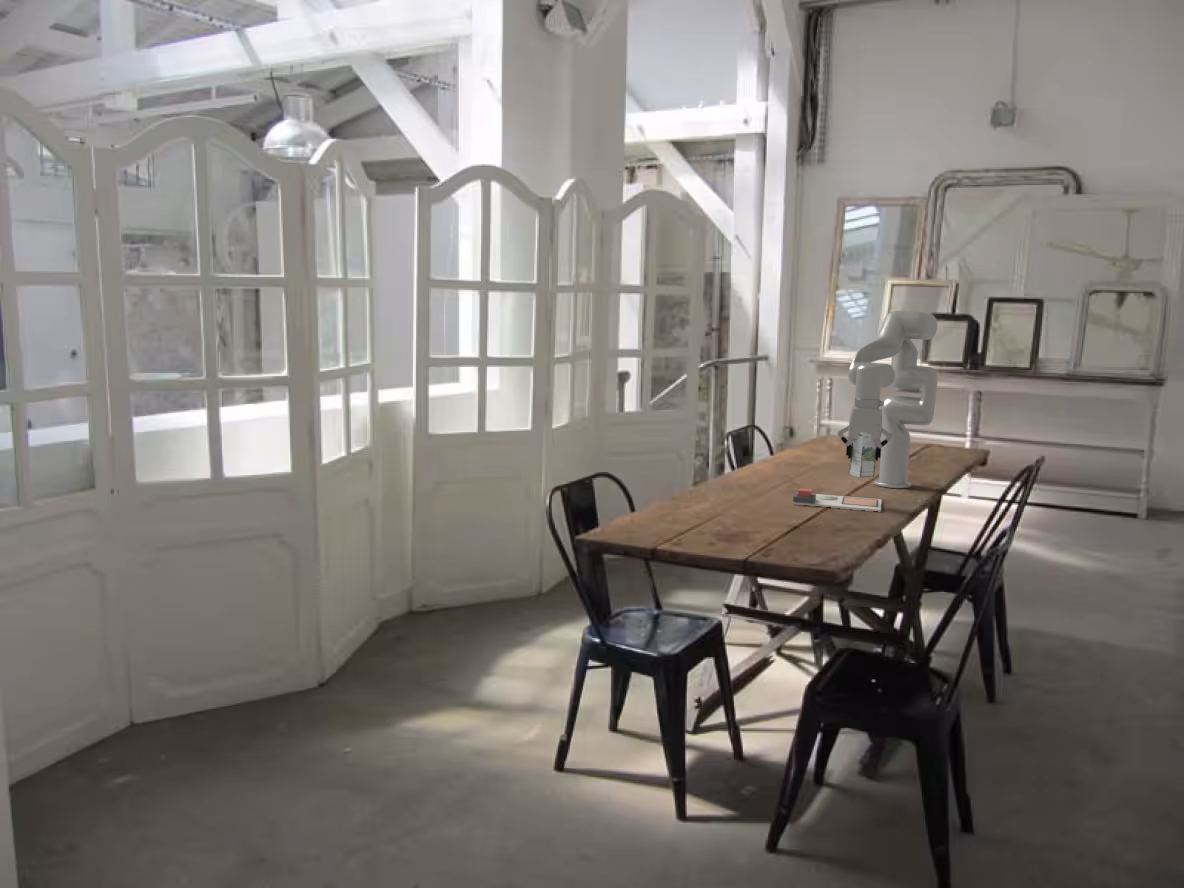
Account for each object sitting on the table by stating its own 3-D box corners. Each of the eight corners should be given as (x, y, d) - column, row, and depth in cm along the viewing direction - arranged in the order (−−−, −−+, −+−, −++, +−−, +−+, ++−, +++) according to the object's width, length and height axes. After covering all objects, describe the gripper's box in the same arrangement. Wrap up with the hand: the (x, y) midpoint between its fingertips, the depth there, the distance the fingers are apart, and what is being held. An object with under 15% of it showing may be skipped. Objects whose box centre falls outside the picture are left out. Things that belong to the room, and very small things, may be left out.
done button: (799, 494, 315) (799, 488, 315) (811, 495, 314) (812, 489, 314) (797, 496, 311) (798, 490, 311) (810, 497, 310) (811, 491, 310)
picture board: (796, 494, 326) (797, 487, 325) (881, 501, 318) (881, 493, 318) (792, 504, 311) (792, 496, 310) (880, 512, 303) (881, 503, 303)
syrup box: (863, 473, 316) (866, 429, 313) (875, 477, 310) (878, 431, 308) (848, 474, 314) (851, 429, 311) (860, 478, 308) (863, 432, 306)
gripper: (895, 404, 309) (891, 459, 312) (839, 401, 314) (835, 455, 317) (895, 407, 302) (891, 463, 305) (837, 403, 307) (834, 458, 310)
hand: (863, 458), depth 311 cm, fingers closed on syrup box, 8 cm apart
